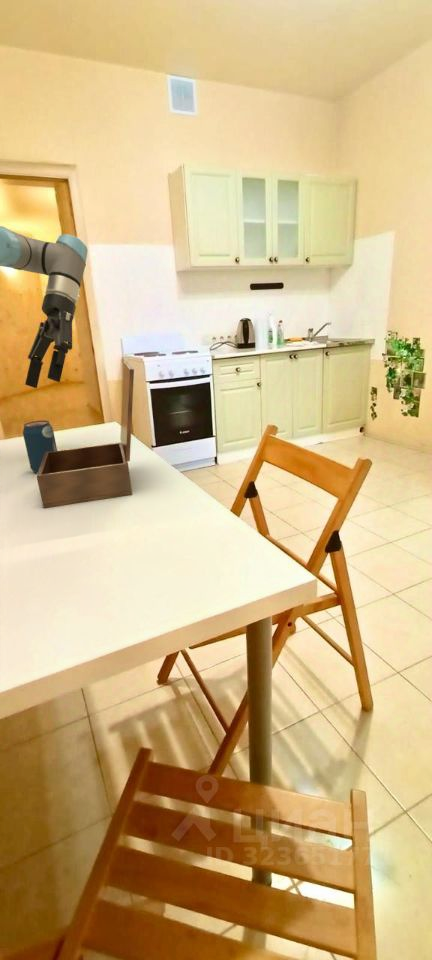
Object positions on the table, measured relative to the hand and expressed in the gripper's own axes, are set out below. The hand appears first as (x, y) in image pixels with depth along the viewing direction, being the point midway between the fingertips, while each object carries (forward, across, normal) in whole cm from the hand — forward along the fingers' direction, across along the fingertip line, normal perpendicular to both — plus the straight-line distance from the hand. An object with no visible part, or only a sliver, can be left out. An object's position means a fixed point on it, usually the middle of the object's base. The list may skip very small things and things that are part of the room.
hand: (41, 383), depth 107 cm
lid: (+5, -24, -9) cm, 26 cm away
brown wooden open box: (+22, -16, -9) cm, 29 cm away
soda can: (+20, +3, -7) cm, 21 cm away
